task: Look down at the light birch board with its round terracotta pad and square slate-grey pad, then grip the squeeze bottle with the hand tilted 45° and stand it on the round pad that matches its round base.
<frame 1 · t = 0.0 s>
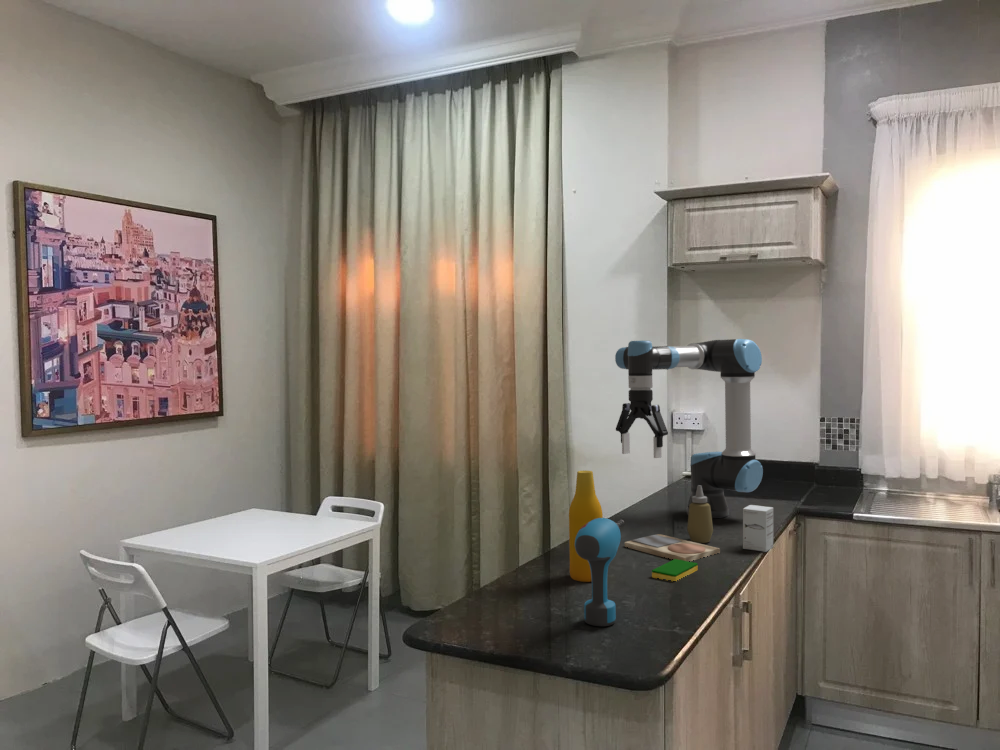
hand: (641, 455, 243), 28 cm above the worktop, tool pointing down, fingers open, 13 cm apart
beer bottle: (586, 578, 208), on the worktop
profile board: (671, 550, 234), on the worktop
dish sponge: (675, 575, 210), on the worktop
power drill: (606, 616, 178), on the worktop
supplement box: (758, 548, 235), on the worktop
squeeze bottle: (700, 542, 244), on the worktop
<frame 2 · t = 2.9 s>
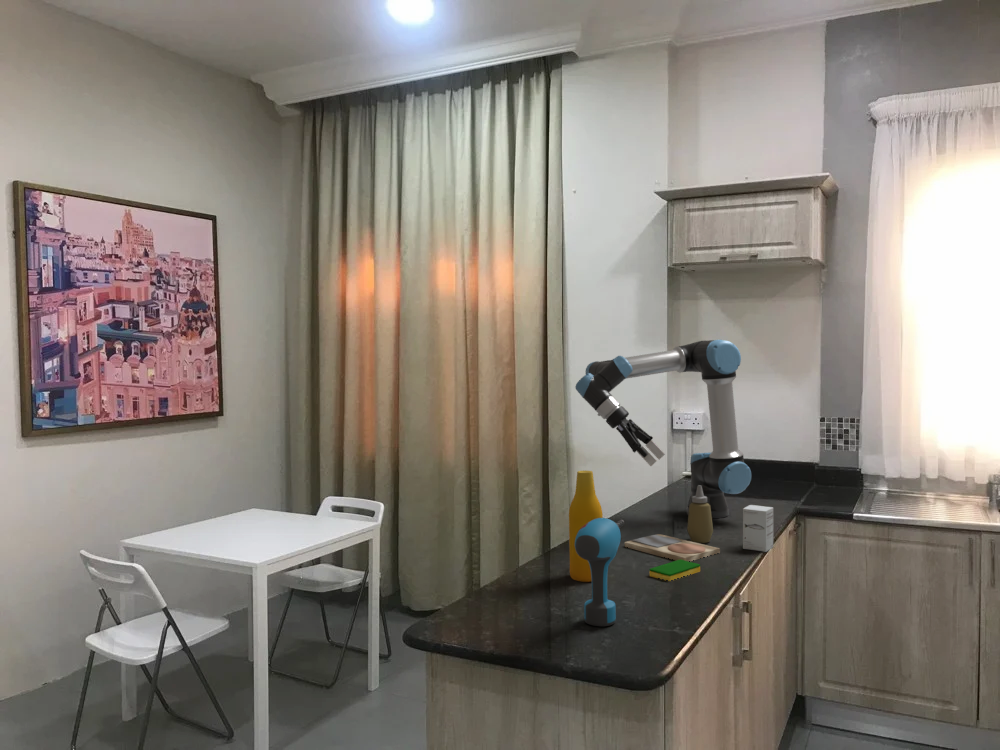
hand: (658, 460, 248), 26 cm above the worktop, tool tilted 45°, fingers open, 13 cm apart
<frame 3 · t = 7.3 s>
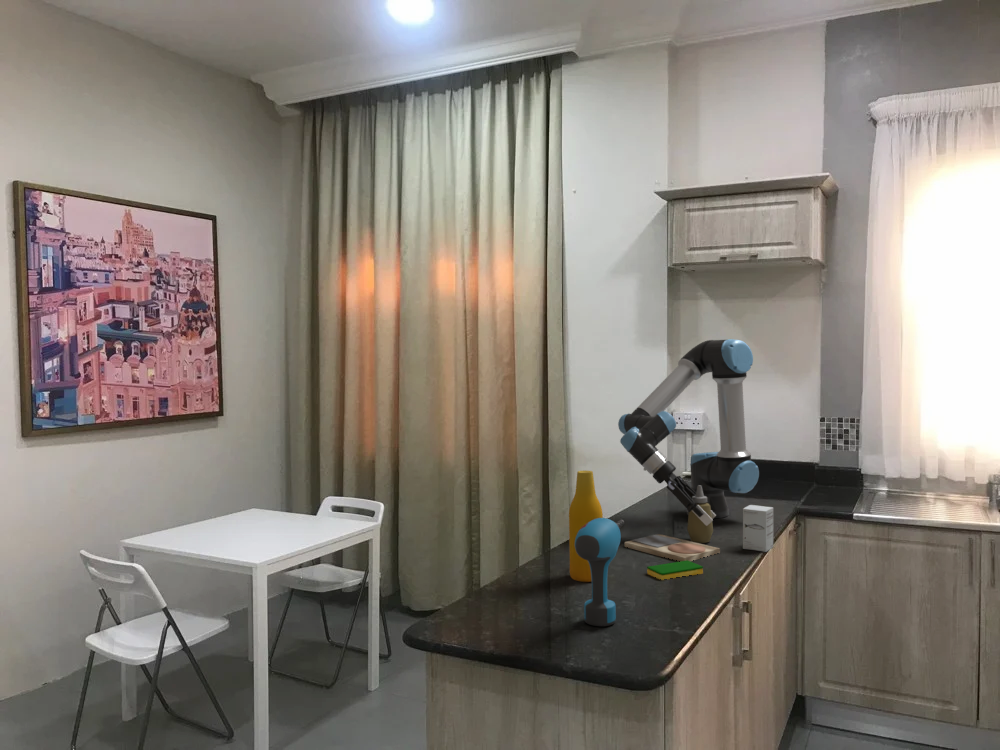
hand: (711, 520, 243), 7 cm above the worktop, tool tilted 45°, fingers closed on squeeze bottle, 6 cm apart
squeeze bottle: (700, 542, 244), on the worktop, touching gripper
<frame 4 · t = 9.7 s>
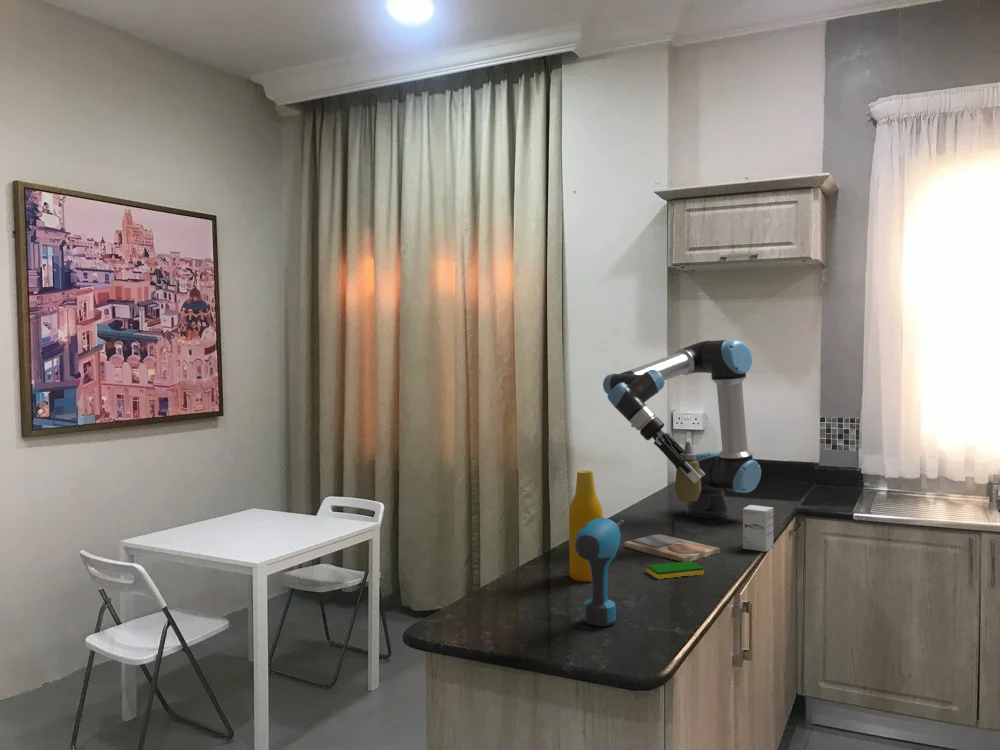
hand: (699, 478, 234), 22 cm above the worktop, tool tilted 45°, fingers closed on squeeze bottle, 6 cm apart
squeeze bottle: (687, 500, 236), point 15 cm above the worktop, touching gripper
when the fingers open (10 cm above the worktop, at t = 12.4 s): squeeze bottle drops 2 cm, resting on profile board.
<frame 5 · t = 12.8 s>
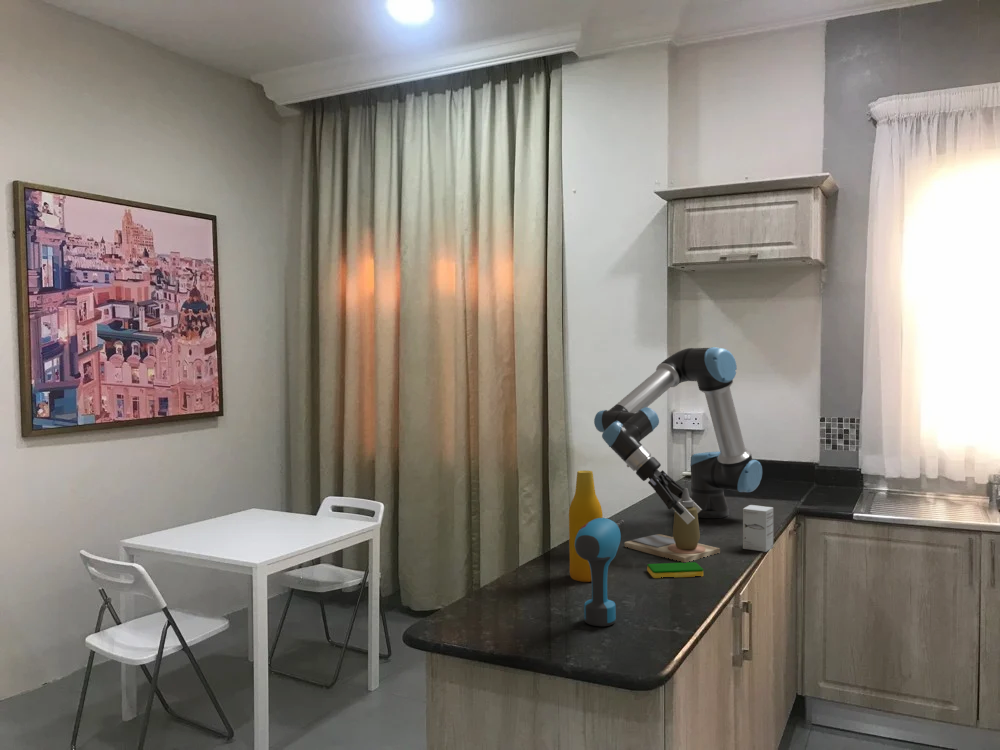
hand: (695, 517, 228), 11 cm above the worktop, tool tilted 45°, fingers open, 12 cm apart
squeeze bottle: (686, 548, 230), point 2 cm above the worktop, touching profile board
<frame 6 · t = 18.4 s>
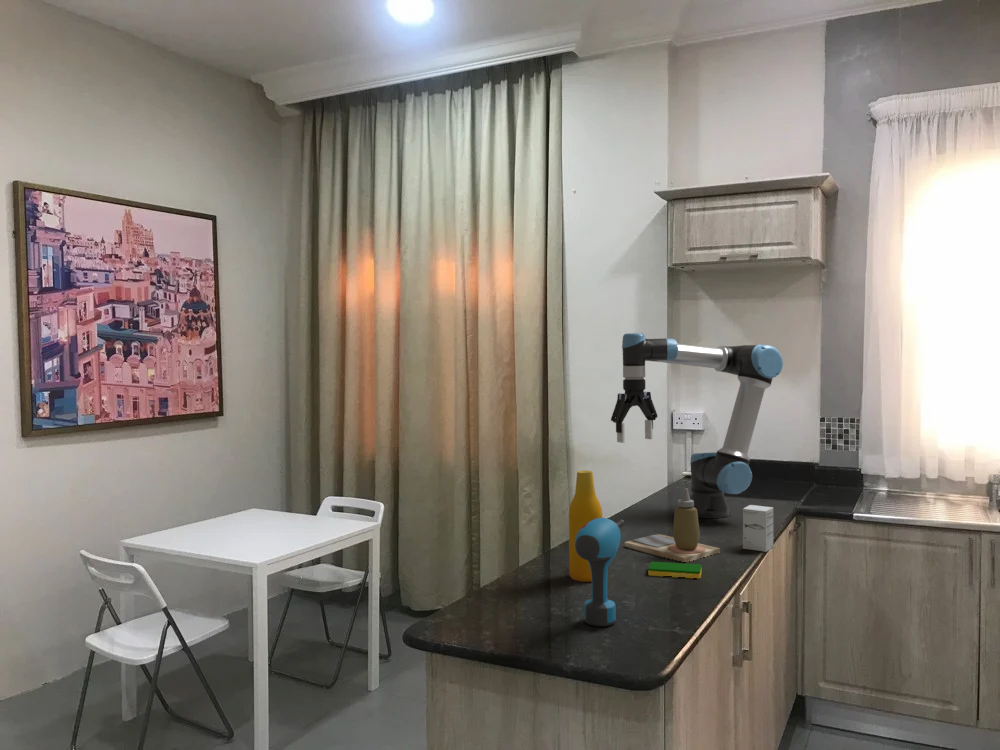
hand: (635, 440, 260), 31 cm above the worktop, tool pointing down, fingers open, 13 cm apart
at the end: squeeze bottle inside the target area on the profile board (0.1 cm from its centre), point 1.6 cm above the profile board's base; squeeze bottle tilted 0°; the gripper is holding nothing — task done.
